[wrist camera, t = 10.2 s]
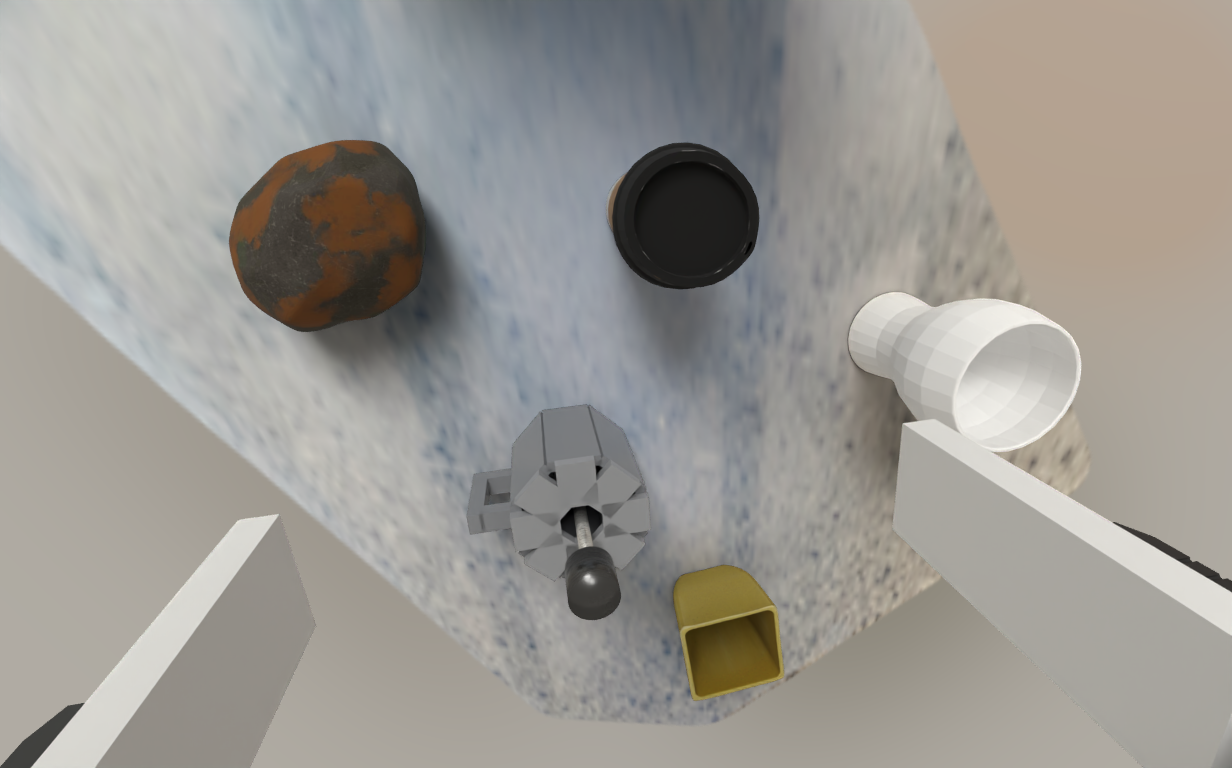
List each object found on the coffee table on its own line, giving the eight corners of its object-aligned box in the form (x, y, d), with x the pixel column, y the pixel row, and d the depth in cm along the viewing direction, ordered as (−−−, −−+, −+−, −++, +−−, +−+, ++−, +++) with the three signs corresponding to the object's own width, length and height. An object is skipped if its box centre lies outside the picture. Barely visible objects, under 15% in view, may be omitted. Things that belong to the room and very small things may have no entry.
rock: (341, 344, 46) (294, 386, 37) (229, 232, 42) (146, 247, 33) (474, 239, 45) (461, 254, 36) (372, 114, 41) (328, 94, 32)
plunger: (531, 441, 49) (534, 563, 33) (605, 431, 50) (643, 545, 34) (540, 506, 51) (548, 649, 36) (612, 496, 52) (649, 631, 36)
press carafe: (467, 419, 50) (453, 480, 40) (621, 399, 51) (645, 453, 41) (485, 520, 53) (477, 599, 43) (629, 498, 55) (653, 570, 45)
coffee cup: (665, 278, 48) (724, 319, 34) (572, 236, 46) (593, 261, 32) (711, 181, 46) (793, 181, 32) (616, 132, 44) (659, 110, 30)
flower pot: (669, 632, 61) (693, 704, 52) (656, 564, 58) (679, 630, 49) (749, 611, 62) (785, 679, 53) (741, 543, 58) (777, 604, 50)
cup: (813, 321, 52) (921, 374, 38) (915, 251, 51) (1064, 278, 37) (861, 409, 55) (976, 487, 41) (957, 345, 55) (1107, 402, 41)
